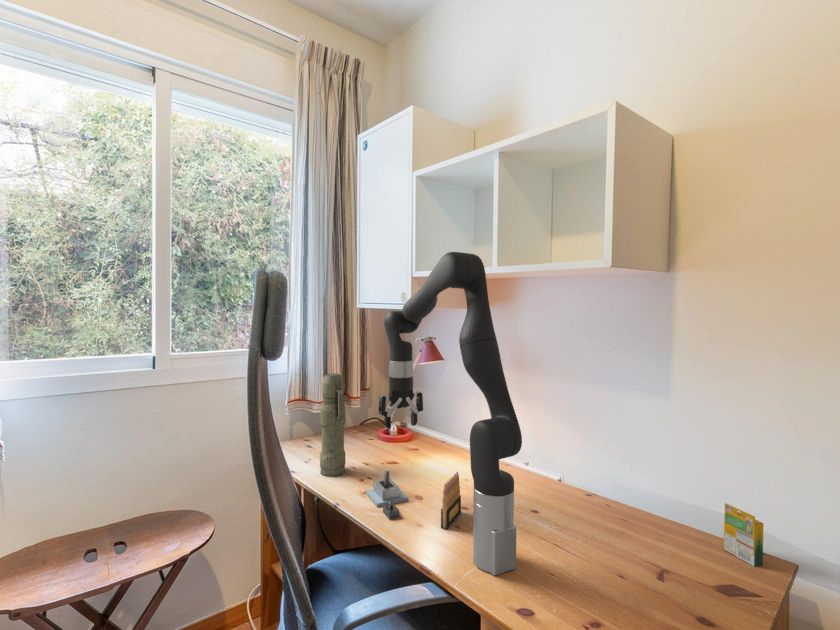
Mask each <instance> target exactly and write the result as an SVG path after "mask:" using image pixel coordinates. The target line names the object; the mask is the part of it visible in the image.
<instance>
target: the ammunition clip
mask: <svg viewBox="0 0 840 630" xmlns="http://www.w3.org/2000/svg"><path fill="white" fill-rule="evenodd" d="M442 492H443V493H442V502H441V503H442V505H441V507H442V508H441V509H440V511H441V512H440V529H444V530H448V529H450V527H451V526H452V525H453V524H454V522H455V521H456V519H457V518H458V517H459V516H460V515H461V513H462V500H461V499H462V496H461V486H460V475H459V472H458V471H456V472H455V474H453V476H451V478H449V479H448V480H447V481H446V482H445V483H444V485H443V491H442Z"/></svg>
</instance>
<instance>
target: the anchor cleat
mask: <svg viewBox="0 0 840 630" xmlns="http://www.w3.org/2000/svg"><path fill="white" fill-rule="evenodd" d="M382 514H384V515H385V516H386V517H387V518H388V520H394V519H398V518H400V509H399V508H398V507H397V506H396V505H395V503H394V504H393V501H389V504H385V505H383V506H382Z"/></svg>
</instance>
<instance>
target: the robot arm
mask: <svg viewBox="0 0 840 630" xmlns="http://www.w3.org/2000/svg"><path fill="white" fill-rule="evenodd" d="M486 276H487V275H486V268H485V265H484V263H483V261H482V258H481V257H480V256H479V255H477V254H474V253H468V252H459V251H450V252H447V253H445V254H444V255H443V256H441V258H440V259H439V260H438V261H437V263H436V265H435V266H434V267H433V269H432V270H431V272H430V273H429V274H428V276H427V277H426V279H425V281H424V282H423V284H422V285H421V286H420V287H419V289H418V290H417V291H416V292H415V293H414V294H413V295H412V296H411V297H410V298H409V299H408V300H407V301H406V302H405V303H404V304H403V306H402V309H401V310H391V311H389V312H387V313H386V315H385V316H384V321H383V324H384V325H383V326H384V329H385V333H386V336H387V341H388V344H389V345H388V346H389V364H388V365H389V367H388V369H389V370H388V389H389V393H388V394H387V395H384V394H379V397H378V398H379V399H378V415H380V416H383V417H384V427H385V428H386V429H387V430H391V429H392V417H391V416H392V414H393V412H395V411H396V409H402V408H404V409H405V408H406V409H407V408H408V409H409V410H410V412H411V413H410V426H414V427H416V426H417V423H418V413H420V412H423V411H424V399H423V392H421V391H419V390H418V391H415V392H414V391H413V390H414V364H413V363H414V362H413V344H412V342H410V341H406V340H403V339H402V338H401V334H411V333H413V332H416V331H417V329H418V328H419V326H420V324H421V323H422V322H423V319H425V318H426V317H427V316H428V315H429V314H430V313H432V312H433V310H434V309H435V307H436V306H437V303H438V295H439V294H440V293H442V292H444V291H446V290H447V289H449V288H451V289H460V290H461V289H462V290H463V291H464V294H465V299H466V314H465V317H464V320H463V323H462V325H461V330H460V332H459V338H458V339H459V340H458V341H459V342H458V343H459V348H460V354H461V355H460V356H461V359H462V364H463V367H464V370H465V371H466V372H467V374H468V376H469V378H470V379H471V380H473V382H474V383H475V385H476V386H477V388H478V389H479V390H480V391H481V393H482V394H483V395H484V398H485V401H486V403H487V405H488V406H487V407H488V410H489V413H490V418H486V419H481V420H477V421H476V422H475V423H474V424H473V425H472V427H471V430H470V433H469V434H470V435H469V454H470V455H469V456H470V457H469V458H470V471H471V476H472V480H473V520H472V521H473V522H472V523H473V533H472V534H473V535H472V536H473V537H472V538H473V540H472V543H473V548H472V550H473V552H472V555H473V556H472V558H473V559H472V560H473V563H474V565H475V566H476V567H477V568H478V569H480V570H482V571H484V572H487V573H490V574H491V575H493V576H498V575H500V574H503V573H507V572H510V571H513V570H515V569H517V527H516V526H515V525H514V522H515V514H514V513H515V479H514V476H513V475H512V474H510V473H509V472H507V471H505V470H502V469H500V460H501V459H503V460H504V459H507V458H510V457H513V456H516V455H517V454H518V453H519V452H520V451H521V449H522V445H523V439H522V438H523V436H522V435H523V434H522V430H521V426H520V422H519V420H518V417H517V414H516V411H515V407H514V406H513V401H512V398H511V396H510V392H509V389H508V385H507V380H506V376H505V372H504V368H503V365H502V359H501V354H500V348H499V344H498V340H497V336H496V331H495V327H494V323H493V318H492V312H491V307H490V302H489V301H490V300H489V294H488V284H487V277H486ZM414 399H415V404H414V403H413V400H414ZM388 401H389V403H388V405H386V403H387V402H388ZM386 406H387V407H386Z"/></svg>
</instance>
